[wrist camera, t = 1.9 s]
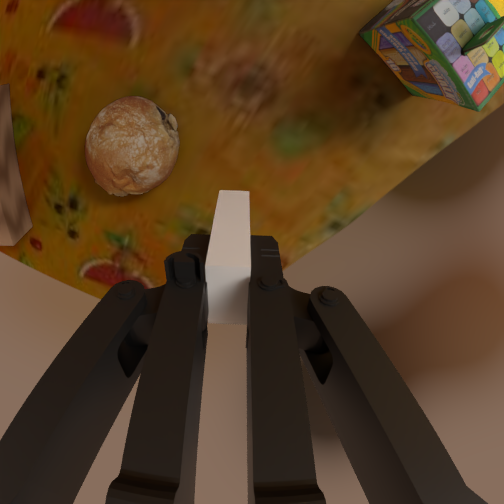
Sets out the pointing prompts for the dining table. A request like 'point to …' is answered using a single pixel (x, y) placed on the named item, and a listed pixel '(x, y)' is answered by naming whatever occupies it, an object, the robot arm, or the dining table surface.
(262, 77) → the dining table surface
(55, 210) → the dining table surface
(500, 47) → the chalk box
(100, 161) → the bread roll
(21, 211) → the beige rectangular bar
